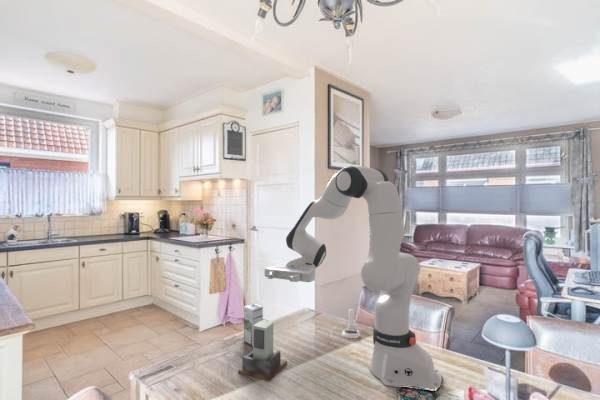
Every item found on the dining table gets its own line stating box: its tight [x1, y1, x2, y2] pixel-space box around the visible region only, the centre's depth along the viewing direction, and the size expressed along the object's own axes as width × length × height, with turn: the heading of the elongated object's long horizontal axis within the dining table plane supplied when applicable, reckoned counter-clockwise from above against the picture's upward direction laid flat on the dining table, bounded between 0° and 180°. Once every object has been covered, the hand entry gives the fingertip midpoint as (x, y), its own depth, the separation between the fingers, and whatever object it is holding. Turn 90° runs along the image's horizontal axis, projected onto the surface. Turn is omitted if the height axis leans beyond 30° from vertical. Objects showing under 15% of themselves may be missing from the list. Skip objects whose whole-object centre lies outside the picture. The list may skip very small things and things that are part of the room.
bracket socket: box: [237, 350, 288, 382], centre depth 108 cm, size 12×12×5 cm
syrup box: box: [243, 303, 264, 347], centre depth 128 cm, size 6×6×14 cm
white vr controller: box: [341, 308, 361, 340], centre depth 136 cm, size 8×12×7 cm
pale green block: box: [252, 320, 274, 361], centre depth 108 cm, size 5×6×14 cm
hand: (280, 278), depth 119 cm, fingers open, 8 cm apart
